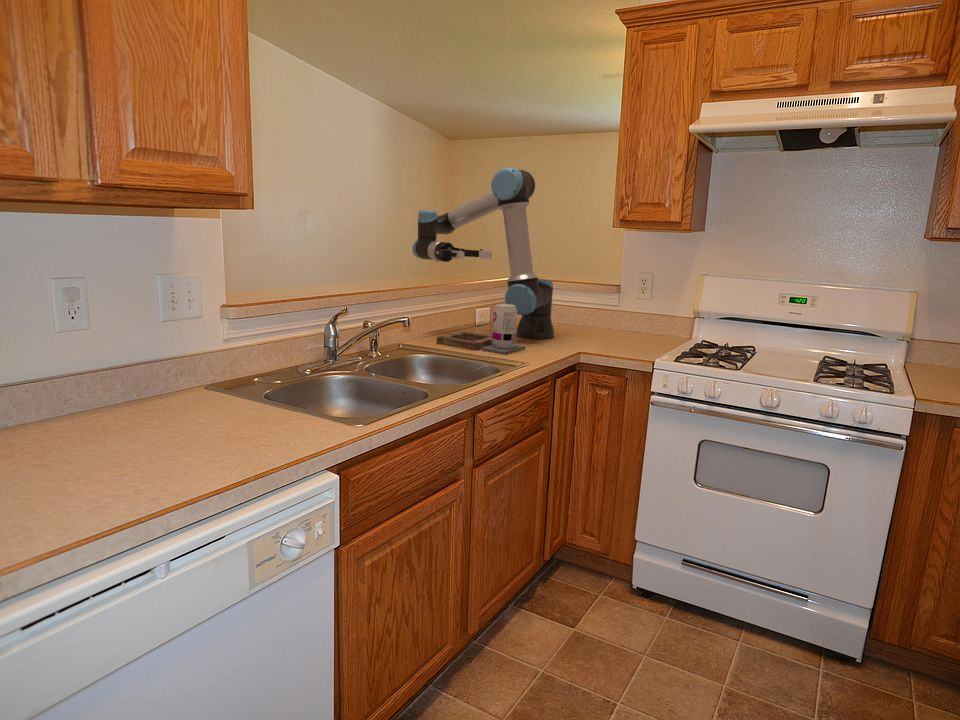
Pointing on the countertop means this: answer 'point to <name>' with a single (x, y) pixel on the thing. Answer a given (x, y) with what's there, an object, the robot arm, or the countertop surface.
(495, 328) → the supplement can
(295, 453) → the countertop surface
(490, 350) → the slate mat
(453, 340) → the walnut collar
